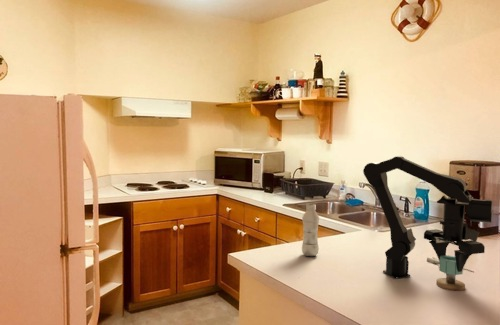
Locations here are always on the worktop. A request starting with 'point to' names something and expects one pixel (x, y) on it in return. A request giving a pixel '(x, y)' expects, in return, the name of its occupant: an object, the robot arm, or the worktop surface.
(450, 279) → the post stand
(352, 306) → the worktop surface
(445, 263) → the ring
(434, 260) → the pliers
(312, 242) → the plastic bottle
